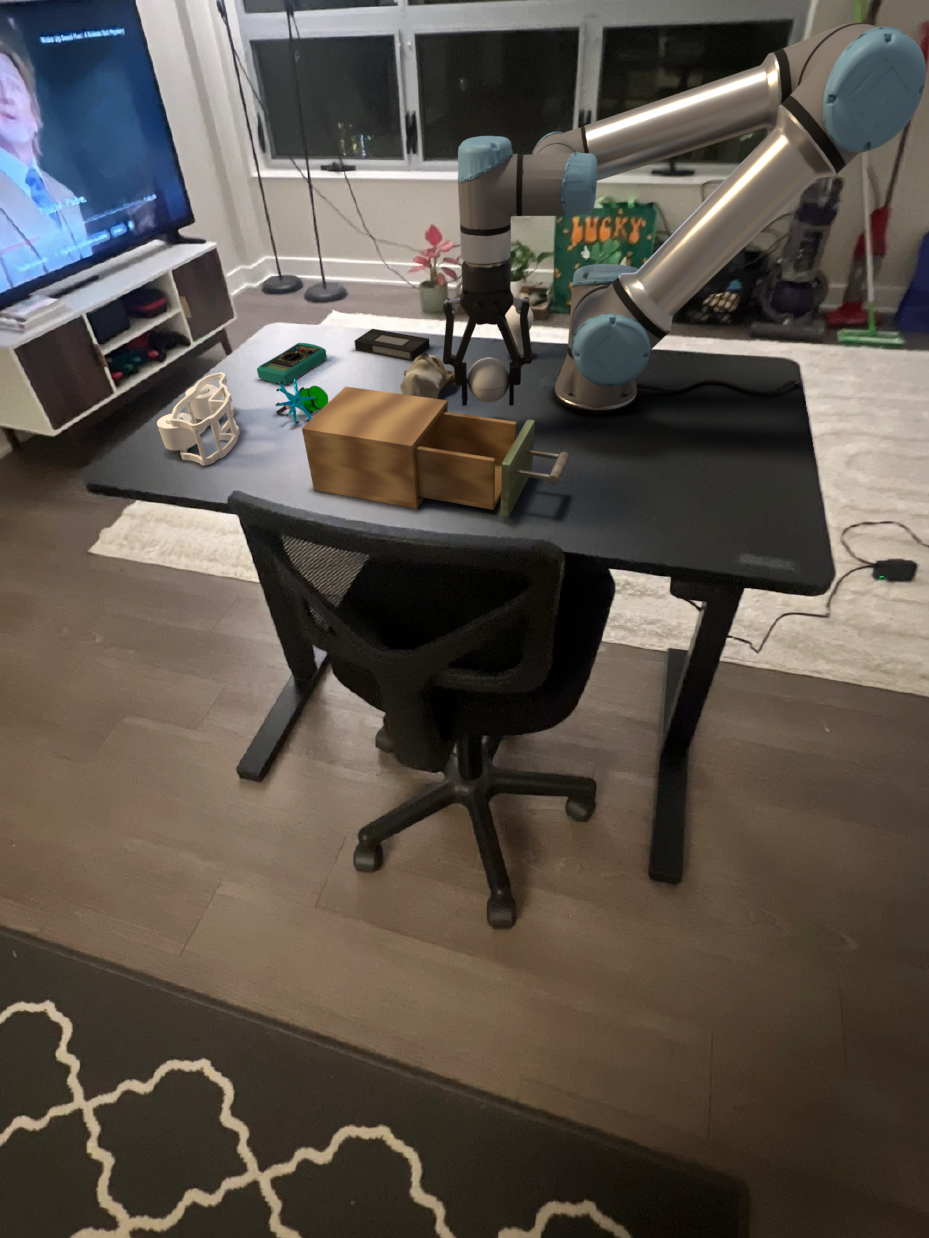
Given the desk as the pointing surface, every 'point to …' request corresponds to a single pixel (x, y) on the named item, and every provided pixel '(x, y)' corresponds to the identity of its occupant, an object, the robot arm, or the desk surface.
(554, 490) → the desk surface
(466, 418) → the drawer
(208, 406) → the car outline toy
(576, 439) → the desk surface
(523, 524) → the desk surface
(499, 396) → the cream egg
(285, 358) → the digital multimeter
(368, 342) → the vhs tape
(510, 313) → the lightbulb
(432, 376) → the ceramic sculpture
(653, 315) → the robot arm
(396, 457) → the cabinet
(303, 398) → the stick construction toy
